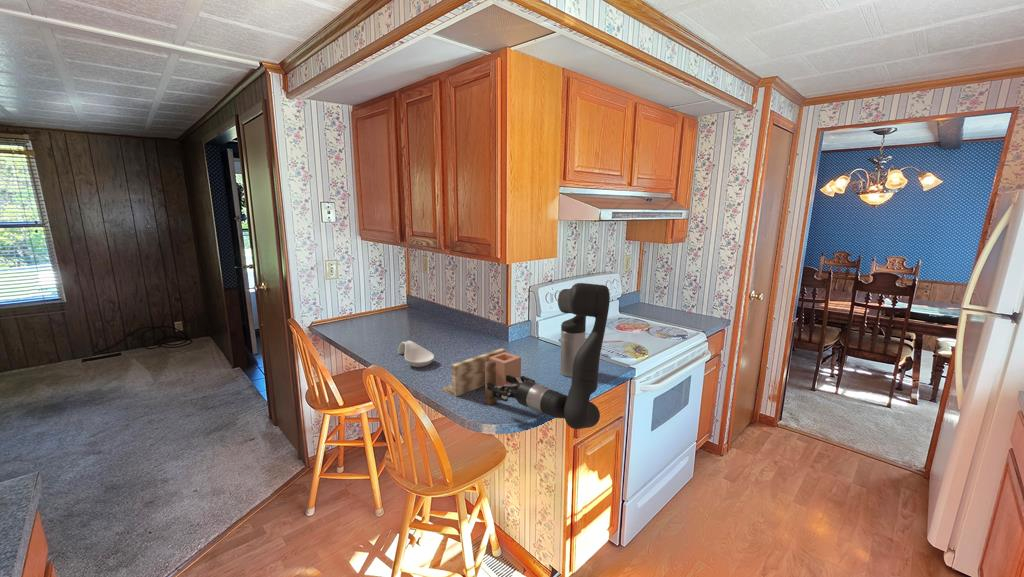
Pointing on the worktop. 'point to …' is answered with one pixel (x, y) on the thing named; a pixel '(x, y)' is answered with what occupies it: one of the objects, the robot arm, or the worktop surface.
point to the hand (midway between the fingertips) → (497, 381)
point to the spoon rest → (415, 354)
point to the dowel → (490, 377)
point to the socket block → (506, 367)
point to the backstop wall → (469, 374)
